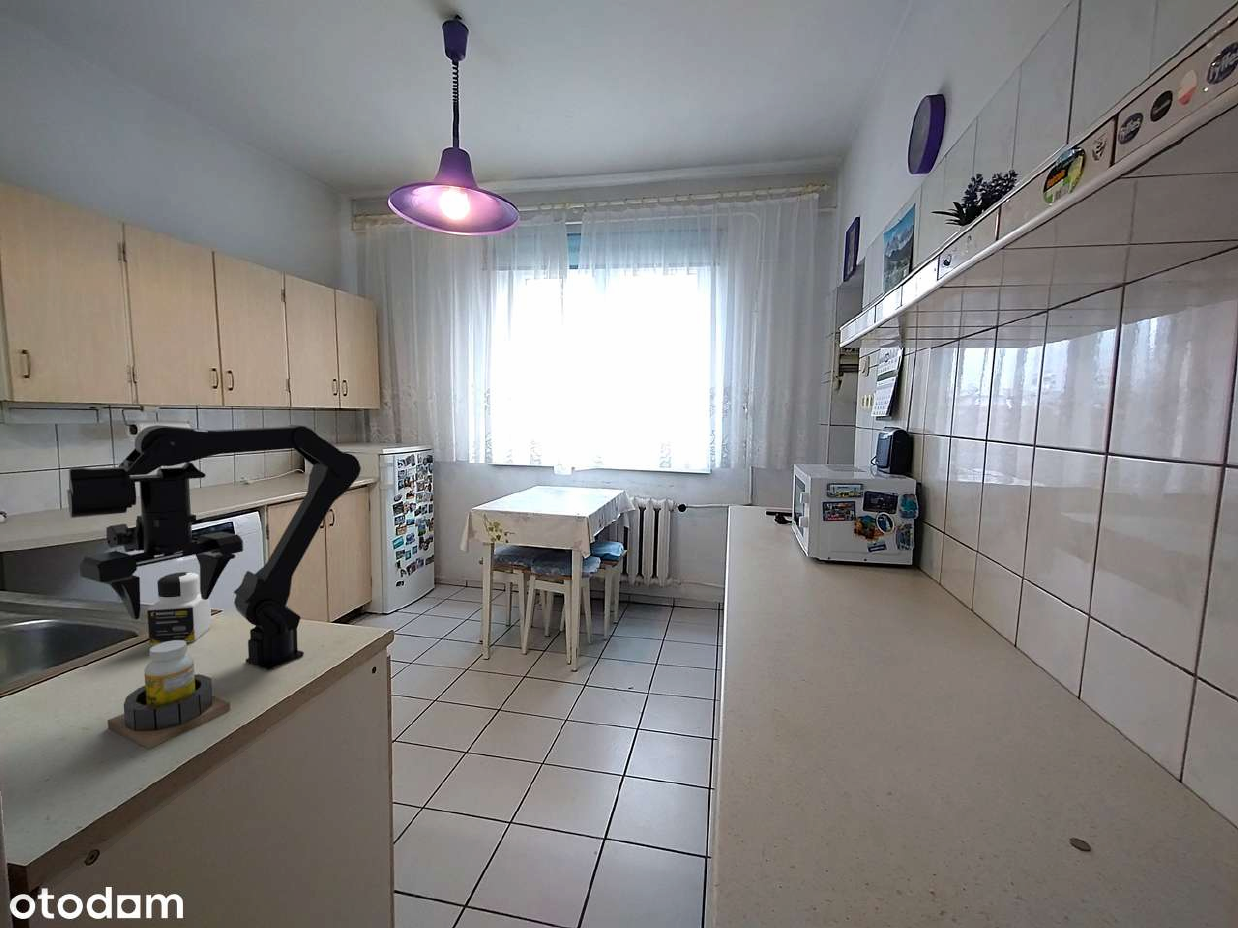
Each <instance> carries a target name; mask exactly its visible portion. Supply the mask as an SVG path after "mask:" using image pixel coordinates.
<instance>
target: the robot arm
mask: <svg viewBox="0 0 1238 928" xmlns="http://www.w3.org/2000/svg"><path fill="white" fill-rule="evenodd" d="M136 435H137V436H135V439H134V449H133V450H132V451H131V452H130V453H129V454H128V455H127V456H126V457H125V459H123V460H122V462H121V463H120V464H118V466H117V467H116V466H115V467H99V468H98V467H96V468H91V467H90V468H89V467H71V468H69V469H68V474H69V475H68V489H67V491H66V492H67V493H66V495H67V503H68V505H67V506H68V512H69V516H70V519H75V518H86V517H95V516H96V517H97V516H107V515H117V514H125V513H127V511H128V509H129V508H130V509H131V508H132V507H133V506H136V504H137V489H136V483H139V493H140V495H139V497H140V510H141V513H140V514H141V515H137V516H136V520H135V522H136V523H135V526H133V527H129V526H128V524H126V523H121V524H114V525H110V526H107V527H106V542H107V545H108V547H109V548H110V549H113V548H119V547H123V549H124V552H120V551H117V550H113V551H108V552H103V553H98V554H93V555H87V556H84V558H83V559H82V561H81V562H80V564H79V572H80V574H79V575H80V577H82V578H84V579H88V580H92V581H95V582H98V583H102V584H106V585H109V586H110V587H111V588H112V589H113V590H114V592H116V594H117V596H118V597H119V598H120V600H121V603H123V606H124V607H125V609H126V610H127V612H128V614H129V615H130V617H131V618H132V620H139V619H140V616H141V615H140V614H141V581H140V579H141V578H140V576H137V575H134V574H135V572H137V570H138V567H143V566H148V565H154V564H158V563H161V562H167V561H172V560H175V559H176V560H177V559H181V558H186V557H191V556H195V557H196V559H197V561H198V562H197V563H198V564H199V591H200V593H201V598H202V599H204V600H207V599H208V598H209V596H210V597H211V594H212V592H213V589H214V588H215V586H216V584H217V582H218V581H219V578H220V576H221V574H222V573H223V572H224V570H225V568H226V567H227V565H228V564H229V563H230V560H233V559H235V558H236V554H238V553H241V552H243V551H244V541H243V539H242V537H241V536H240V535H239V534H236V533H230V532H225V531H217V532H213V533H212V532H211V533H205V534H201V535H199V536H198V537H197V539H196V540H193V532H192V523H194V522H197V515H196V514H192V510H191V493H190V491H191V490H190V489H191V488H190V479H204V478H206V473H204V472H203V471H201V470H200V469H198V468H197V467H196V466H195V464H194V463H192V462H195V461H198V460H203V459H205V458H208V457H211V456H212V457H213V456H217V455H225V454H237V453H249V452H250V453H253V452H261V451H262V452H263V451H264V452H265V451H275V450H276V451H277V450H288V449H294V450H295V451H296V452H297V453H298V454H299V455H300V457H302V459H304V460H306V461H307V462H308V463H309V464H310V465H312V468H311V471H310V473H309V477H308V483H307V485H308V486H307V491H306V494H305V495H304V498H303V499H302V500H301V503H300V504H299V505H298V508H297V510H296V511H295V513H294V515H293V516H292V518H291V520H290V522H289V523H288V525H287V527H286V529H285V531H284V532H283V534H282V535H281V537H280V539H279V541H278V543H277V545H276V546H275V548H274V549H273V551H272V553H271V554H270V556H269V558H268V560H267V561H266V563H265V565H264V566H262V568H260V569H259V570H258V571H257V572H255V573H254V572H251V571H250V570H248V571H246V572H245V574H244V575H243V578H242V581H241V584H240V585H239V586H238V587H237V588H236V589H234V590H233V594H235V595H236V596H235V598H234V602H233V603H234V607H235V609H236V611H237V612H238V613H239V615H241V616H242V617H243V618H245V620H246V621H247V622H248V623H250V624H251V625H253V626H255V627H254V628H251V629H250V630H249V632H250V633H249V634H250V635H249V637H250V638H249V639H248V641H247V648H248V657H247V658H246V659H245V663H247V664H249V665H252V666H254V667H257V668H261V669H264V670H267V671H269V670H273V669H276V668H277V667H280V666H282V665H285V664H287V663H290V662H291V661H293V660H296V659H298V658H300V657H302V656H304V655H305V652H304V651H302V650H298V627H299V623H300V621H301V616H300V615H299V614H298V613H297V612H295V611H294V610H293V609H291V608H290V607H289V606H288V605H287V604H288V601H289V598H290V595H291V589H292V582H293V581H292V580H293V576H294V573H295V572H296V570H297V568H298V567H299V564H300V563H301V561H302V559H303V557H304V555H305V554H306V552H307V551H308V549H309V546H310V544H311V543H312V541H313V539H314V537H315V536H316V535H317V532H318V530H319V528H320V526H321V525H322V523H323V521H324V520H325V517H326V516H327V515H328V512H329V510H331V509H330V508H331V507H332V505H333V504H334V502H335V501H337V499H339V498H340V497H342V496H343V495H344V494H345V493H346V492H347V491H348V490H349V489H350V488H351V486H352V485H353V484H354V483H355V481H356V480H357V479H358V478H359V476H360V473H361V472H362V471H361V468H362V467H361V465H360V461H359V460H358V458H357V457H356V456H354V455H353V454H351V453H348V452H343V451H341V450H340V449H339V448H338V447H336V446H334V445H333V444H331V443H329V442H328V440H325V439H324V438H322V437H321V436H320V435H318V434H317V433H316V432H315V431H313V429H311V427H308V426H306V425H300V424H292V425H289V426H288V425H287V426H278V427H277V426H275V427H274V426H273V427H256V428H255V427H253V428H233V429H218V430H217V429H216V430H215V429H214V430H213V429H212V430H209V429H202V428H201V429H199V428H193V427H192V428H191V427H183V426H181V427H180V426H172V425H159V424H156V425H151V426H150V425H149V426H147V427H145V428H143V429H142V430H141V431H140V432H138V434H136ZM182 464H184V465H182ZM177 465H182V466H181V467H180V466H179V467H172V466H177ZM161 467H164V468H161ZM155 470H156V474H150V473H152V472H154V471H155ZM148 474H149V475H148ZM135 551H137V552H139V551H143V552H139V553H134V554H129V553H131V552H135Z"/></svg>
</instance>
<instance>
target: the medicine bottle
mask: <svg viewBox="0 0 1238 928" xmlns="http://www.w3.org/2000/svg"><path fill="white" fill-rule="evenodd" d="M157 596H158V597H157V598H158V600H159V601H157V602H155V603H154V604H152V605H151V606H149V607H148V608H147V610H146V613H147V614H146V615H147V625H148V626H147V627H148V641H149V645H150V646H155V645H157V644H160V643H163V642H167V641H174V640H183V641H185V642H186V643H195V642H196V641H197V640H198V639H199V638H200V637H201V636H202V635H203V636H204V634H205V633H206V632H207V631H209V630H210V629H211V628H212V613H211V612H212V611H211V595H210V596H209V598H208V599H207V600H204V599H202V598H201V591H200V575H198V574H197V573H194V572H192V571H191V572H190V571H182V572H181V571H180V572H175V573H169V574H167V575H164V576H162V577H160V578H159V579H158V580H157Z"/></svg>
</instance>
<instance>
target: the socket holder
mask: <svg viewBox="0 0 1238 928" xmlns="http://www.w3.org/2000/svg"><path fill="white" fill-rule="evenodd" d="M194 675H195V692H194V693H193V694H191V695H188V696H186V697H184V698H181V699H179V700H177V701H172V702H168V703H164V704H159V705H147V702H146V688H145V685H142V686H141V687H139V688H137V689H136V690H134V691H133V692H131V693H129V694H128V695H126V697H125V700H124V702H123V713H122V714H120V715H118V716H117V715H116V716H115V717H112V718H110V719H108V720H107V728H108V729H109V730H110V731H113V732H115V733H116V734H118V735H120V736H122V737H124V738H126V739H128V740H130V741H132V742H134V743H136V744H139V745H140V746H142V747H144V748H146V749H148V750H149V749H152V748H154V747H155V746H158V745H160V744H163V743H164V742H166V741H168V740H170V739H172V738H174V737H177V736H178V735H181V734H183V733H186V732H187V731H189V730H191V729H192V730H193V728H196V727H198V726H199V725H202V724H204V723H206V722H208V721H210V720H212V719H214V718H216V717H219V716H221V715H223V714H225V713H227V712H230V711H231V702H230V701H227V700H225V699H222V698H220V697H217V696H215V695H213V684H212V683H213V682H212V677H209V676H207V675H205V674H204V675H203V674H199V673H198V674H195V673H194Z"/></svg>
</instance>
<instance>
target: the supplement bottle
mask: <svg viewBox="0 0 1238 928" xmlns="http://www.w3.org/2000/svg"><path fill="white" fill-rule="evenodd" d="M187 652H188V646H187V643H186V642H185V641H183V640H174V641H167V642H163V643H160V644H157V645H152V647H150V648H149V659H150V661H149V663H148V664H146V666H145V667H144V686H145V688H146V702H147V705H159V704H164V703H168V702H172V701H177V700H179V699H181V698H184V697H186V696H188V695H191V694H193V693H194V692H195V675H194V674H195V662H194V658H193V656H192V655H190V654H188V653H187Z"/></svg>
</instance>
